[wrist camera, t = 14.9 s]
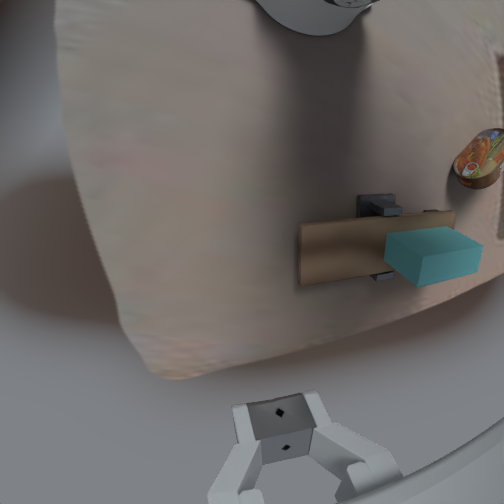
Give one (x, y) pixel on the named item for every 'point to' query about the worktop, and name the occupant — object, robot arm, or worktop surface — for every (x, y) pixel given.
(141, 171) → the worktop surface
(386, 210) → the beam stand
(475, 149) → the tin
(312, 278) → the beam
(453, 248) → the block
